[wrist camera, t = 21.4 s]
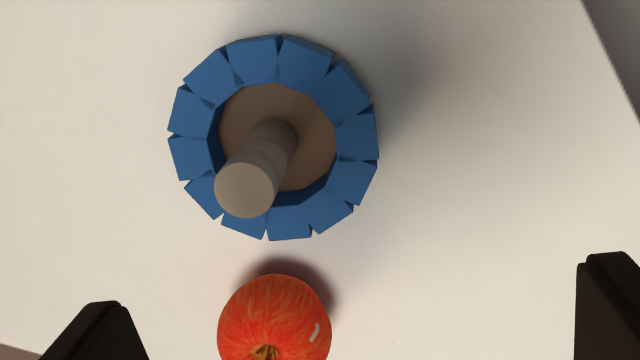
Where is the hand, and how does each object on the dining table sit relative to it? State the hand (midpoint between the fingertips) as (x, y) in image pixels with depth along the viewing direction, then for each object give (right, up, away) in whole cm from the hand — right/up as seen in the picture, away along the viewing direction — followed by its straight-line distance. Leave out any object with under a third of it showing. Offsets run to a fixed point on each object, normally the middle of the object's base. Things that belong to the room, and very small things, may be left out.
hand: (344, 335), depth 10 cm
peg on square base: (-3, +6, +21) cm, 22 cm away
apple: (-3, -7, +27) cm, 28 cm away
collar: (-3, +6, +20) cm, 21 cm away
